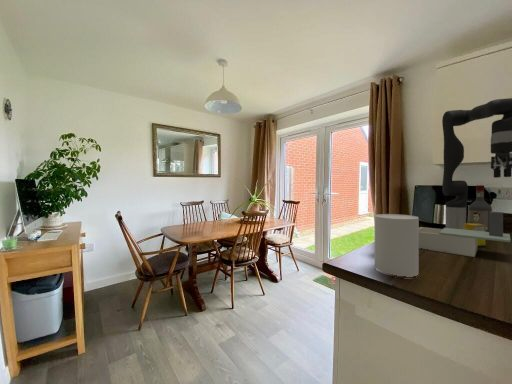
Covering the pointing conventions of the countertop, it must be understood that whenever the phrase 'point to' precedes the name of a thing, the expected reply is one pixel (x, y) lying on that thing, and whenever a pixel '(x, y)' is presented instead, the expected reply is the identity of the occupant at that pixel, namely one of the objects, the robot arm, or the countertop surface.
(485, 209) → the liquor
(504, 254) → the countertop surface
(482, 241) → the supplement box
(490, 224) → the carton lid
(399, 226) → the canister
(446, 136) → the robot arm
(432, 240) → the carton
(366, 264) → the countertop surface
